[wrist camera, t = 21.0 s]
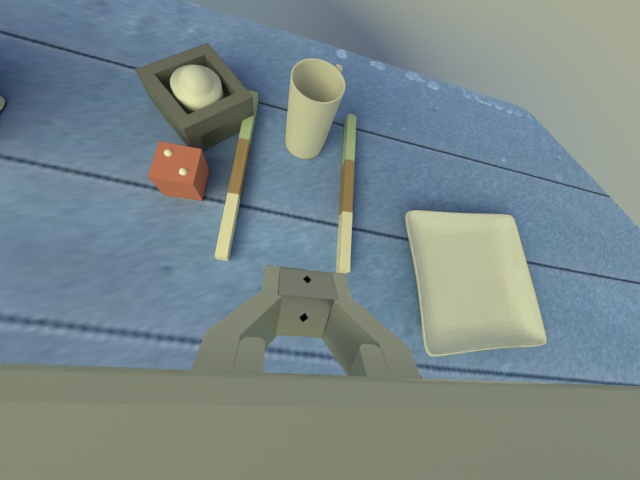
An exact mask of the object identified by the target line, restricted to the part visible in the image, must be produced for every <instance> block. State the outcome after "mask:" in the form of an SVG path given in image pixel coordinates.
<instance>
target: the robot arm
mask: <svg viewBox="0 0 640 480" xmlns="http://www.w3.org/2000/svg"><path fill="white" fill-rule="evenodd" d="M4 105H5V100H4V98H3V97H2V96H0V110H1V109H2V108H3V107H4ZM276 335H284V336H304V337H315V338H323V339H322V340H323V341H324V342H325V344H326V345H327V347H328V348H329V350H330V351H331V352H332V354H333V355H334V357H335V358H336V360H337V361H338V363H339V364H340V365H341V367H342V368H343V370H344V371H345V373H346V374H347V375H348V376H344V375H316V374H289V373H262V370H263V360H264V351H265V350H266V348H267V347H268V346H269V344H270V343H271V342H272V341H273V339H274V338H275V337H276ZM0 480H640V386H617V385H589V384H562V383H535V382H507V381H480V380H452V379H424V378H422V376H421V374H420V372H419V370H418V368H417V366H416V364H415V361H414V359H413V357H412V355H411V353H410V351H409V348H408V346H407V345H406V344H405V343H403V342H402V341H401V340H400V339H399V338H398V337H396V336H395V335H394V334H393V333H392V332H391V331H390V330H388V329H387V328H386V327H385V326H384V325H383V324H381V323H380V322H379V321H378V320H377V319H376V318H375V317H373V316H372V315H371V314H370V313H369V312H368V311H366V310H365V309H364V308H363V307H362V306H361V305H360V304H358V303H357V302H353V300H352V297H351V293H350V290H349V287H348V284H347V280H346V277H345V275H344V274H343V273H334V272H331V273H330V272H320V271H310V270H304V269H296V268H289V267H281V266H280V267H279V266H273V265H266V267H265V273H264V279H263V285H262V291H261V293H256V294H255V295H254V296H252V297H251V298H250V299H248V300H247V301H246V302H245V303H243V304H242V305H241V306H239V307H238V308H237V309H236V310H234V311H233V312H232V313H230V314H229V315H228V316H227V317H225V318H224V319H223V320H221V321H220V322H219V323H218V324H216V325H215V326H214V327H212V328H211V329H210V330H208V331H207V332H206V333H205V335H204V338H203V340H202V343H201V346H200V348H199V351H198V353H197V356H196V359H195V361H194V364H193V366H192V369H191V370H179V369H151V368H124V367H97V366H69V365H42V364H14V363H0Z"/></svg>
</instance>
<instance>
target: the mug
mask: <svg viewBox="0 0 640 480" xmlns="http://www.w3.org/2000/svg"><path fill="white" fill-rule="evenodd" d="M342 70H343V67H342V66H341V65H340V64H337V65H336V66H334V65H332V64H331V63H329V62H327V61H324V60H321V59H315V58H309V59H304V60H302V61H300V62H298V63H297V64H296V65H295V66H294V67H293V69H292V71H291V81H290V90H289V101H288V113H287V124H286V136H285V143H286V147H287V149H288V150H289V151H290V153H292V154H293V155H294V156H296V157H298V158H301V159H311V158H314V157H316V156H317V155H318V154H319V153H320V152H321V150H322V148H323V145H324V143H325V141H326V138H327V135H328V133H329V130H330V128H331V125H332V123H333V120H334V118H335V115H336V113H337V110H338V108H339V105H340V103H341V100H342V97H343V94H344V92H345V88H346V85H345V80H344V77H343V75H342Z"/></svg>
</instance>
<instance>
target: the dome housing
mask: <svg viewBox="0 0 640 480" xmlns="http://www.w3.org/2000/svg"><path fill="white" fill-rule="evenodd" d="M185 65H201V66H205V67H207V68H209V69H211V70H212V71H214V72H215V73H216V74H217V75H218V77H219V78H220V81H221V85H222V90H223V96H224V99H221V100H219V101H217V102H215V103H212V104H210V105H208V106H206V107H204V108H201V109H199V110H197V111H195V112H192V113H190V114H189V113H187V112H186V111H184V110H183V109H182V108H181V106H180V105H179V104H178V103H177V101H176V98H175V96H174V93H173V91H172V89H171V86H170V78H171V75H172V74H173V72H174V71H175V70H177V69H178V68H180V67H182V66H185ZM135 71H136V72H137V74H138V76H139V78H140V80H141V82H142V84H143V85H144V87H145V89H146V91H147V93H148V95H149V97H150V99H151V100H152V102H153V104H154V105H155V106H156V107H157V109H158V110H159V111H160V112H161V114H162V115H163V116H164V117H165V119H166V120H167V121H168V122H169V124H170V125H171V126H172V127H173V129H174V130H175V131H176V132H177V133H178V135H179V136H180V137H181V138H182V140H183V141H184V142H185V143H186V145H187V146H188V147H193V148H198V149H202V151H203V150H205V149H207V148H209V147H211V146H213V145H215V144H217V143H219V142H221V141H223V140H225V139H227V138H228V137H230V136H232V135H234V134H236V133H238V132H240V129H241V124H242V121H243V120H245V119H247V118H249V117H251V116H253V115H254V107H253V96H252V95H251V94H250V93H249V91H248V90H247V89H246V88H245V87H244V85H243V84H242V83H241V82H240V81H239V80H238V78H237V77H236V76H235V75H234V74H233V72H232V71H231V70H230V69H229V68H228V67H227V65H226V64H225V63H224V62H223V61H222V59H221V58H220V57H219V56H218V55H217V54H216V52H215V51H214V50H213V49H212V48H211V47H210V45H209V44H208V43H207V44H204V45H201V46H199V47H196V48H193V49H190V50H187V51H185V52H182V53H179V54H176V55H173V56H171V57H168V58H165V59H162V60H159V61H157V62H154V63H151V64H148V65H145V66H143V67H140V68H137V69H135Z"/></svg>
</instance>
